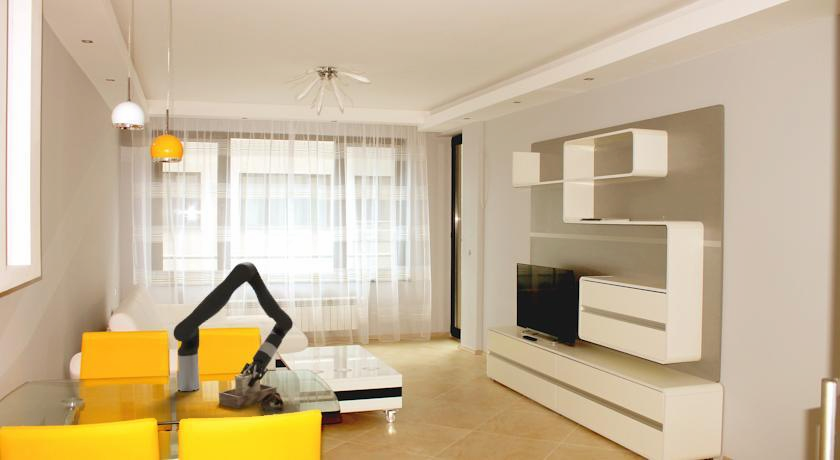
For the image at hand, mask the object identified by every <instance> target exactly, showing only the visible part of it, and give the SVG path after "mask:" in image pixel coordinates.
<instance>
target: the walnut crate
mask: <svg viewBox="0 0 840 460" xmlns="http://www.w3.org/2000/svg"><path fill="white" fill-rule="evenodd" d="M260 389H261V391H258V392H254V393H251V394H247V395H243V396H240V397H239V396H236V389H235V387H234V388H231V389H227V390H223V391H220V392H218V399H219V403H218V404H219V405H223V406H225V407H230V408H234V409H239V410H240V409H244V408H245V409H246V408H248V407H250V406H251V407H252V406H254V405H257V404H260V403H259V402H260V401H261V399H262V398H263V397H265V396H266V395H267V394H269V393H272V392H273V393H276V392H277V393H278V391H277V386H274V385H270V384H269V385H268V384H264V383H260ZM268 399H269V398H268ZM268 399H267V400H268ZM267 400H265V401H267ZM261 402H262V401H261Z"/></svg>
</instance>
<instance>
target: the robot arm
mask: <svg viewBox="0 0 840 460" xmlns="http://www.w3.org/2000/svg"><path fill="white" fill-rule="evenodd" d="M245 283H247V284H248V285H250V287H251V288H252V289H253V292H254V293H255V296H256V299H257V301H258V304H259V306H260V307H261V309H262V310H263V311H264V313H265V315H266V316H267V317H268V318H270V319H272V320H273V321H274V322H275V324H274V326H273V327H272V330H271V331H270V333H269V334H268V335H267V337H266V338H265V340H264V341H263V342H262V344H261V345H260V347H258V349H257V351H256V352H255V354H254V355H253V357H252V362H251V363H249V362H246V363H245V364H244V367H243V368H242V369H241V371H240V374H245V373H249V372H251V374H250V373H249V374H250V375H252V374H254V375H253V378H252V379H251V380H250V382H249V383H248V386H249V387H251V388H252V386H253V385H254V384H255V382H256V381H257V380H260V381H261V380H262V379H263V378H264V376H265V375H266V373H267V372H268V370H269V369H268V366H269V364H270V363H271V361H272V359H273V357H274V356H275V355H276V353H277V351H278V349H279V348H280V346H281V344H282V342H283V339H284V338H285V336H286V335H287V334H288V332H289V331H291V330H292V328H293V325H294V322H293V320H292V318H291V316H290V315H288V314H287V313H286V311H284V309H282V308H281V306H280V305H279V303H278V302H277V301H276V300H275V298H274V296H273V295H272V294H271V292H270V290H269V289H268V287H267V286H266V284H265V282H264V280H263V279H262V276H261V274H260V272H259V270H258V269H257V266H256V265H255V264H254V263H252V262H250V261H246V262H240V263H238V264H236V265H235V266H234V267H233V269H232V270H231V271H230V272H229V273H228V274H227V276H226V277H225V278H224V280H222V282H221V283H219V284H218V285H217V286H216V287H215V288H214V289H212V291H211V292H209V294H207V296H205V297H204V299H203V300H202V301H201V302H200V303H199V304H198V305H197V306H196V307H195V308H194V309H193V311H191V313H189V315H188V316H186V317H184V319H182V321H179V323H178V324H176V326H175V327H174V329H173V337H174V339H175V340H176V341H177V342H181V343H180V346H179V347H178V349H177V364H178V368H177V369H178V370H177V371H176V383H177V385H176V386H177V391H178V390H180V391H179V392H182V391H189V392H194V391H193V390H195V391H198V390H199V389H200V372H199V370H200V369H199V368H200V367H199V348H200V328H199V327H200V326H201V325H203V324H204V323H205V322H207V321H208V320H210V319H211V318H213V317H214V316H215V315H217V314H218V313H219V312H221V310H222V309H223V308H224V307H225V306H226V305H228V302H229V301H230V299H231V297H232V295H233V294H234V292H236V290H238V289H239V288H241V286H242V285H243V284H245ZM240 374H239V375H240ZM256 375H257V376H256ZM197 389H198V390H197Z"/></svg>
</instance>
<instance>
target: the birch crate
mask: <svg viewBox="0 0 840 460" xmlns="http://www.w3.org/2000/svg"><path fill="white" fill-rule="evenodd" d="M249 373H250V374H251V372H250V371H249ZM249 373H245V374H237V375H235V376H234V384H235V387H234V388H235V389H236V396H239V397H240V396H243V395H247V394H251V393H254V392H258V391H261V389H260V384H261V380H257V381H256V382H255V384H254V385H253V386H252V388H251V387H249V386H248V383H249V382H250V380H251V379H252V378H253V375H254V374H252V375H250V374H249ZM256 376H257V375H256Z"/></svg>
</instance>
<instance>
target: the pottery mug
mask: <svg viewBox="0 0 840 460" xmlns="http://www.w3.org/2000/svg"><path fill="white" fill-rule="evenodd" d="M268 398H269V399H268ZM267 399H268V400H267ZM265 400H267V401H265ZM261 401H262V402H261ZM261 401H260V402H259V403H258V404H259V405H260V409H261V410H262V411H264V409H266V408H271V404H273V405H274V406H280V408H281V411H282V412H283V411H285V409H286V407H285V403H284V401H283V399H282V398H281V394H280V393H279V392H278V391H277V392H276V393H273V392H272V393H269V394H267V395H266V396H265V397H263V398H262V399H261Z"/></svg>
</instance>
